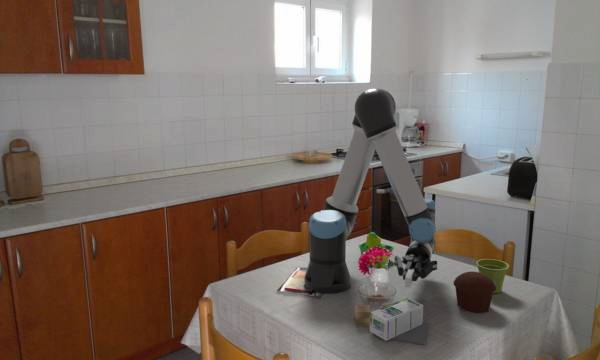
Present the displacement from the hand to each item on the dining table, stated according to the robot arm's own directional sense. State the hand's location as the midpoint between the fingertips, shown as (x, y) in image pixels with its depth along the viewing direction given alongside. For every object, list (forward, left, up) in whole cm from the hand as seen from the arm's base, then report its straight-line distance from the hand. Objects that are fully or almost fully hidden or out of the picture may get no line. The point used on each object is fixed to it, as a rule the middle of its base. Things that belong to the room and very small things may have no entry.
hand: (407, 282), depth 130 cm
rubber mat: (0, -6, -11) cm, 12 cm away
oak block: (-11, -5, -11) cm, 17 cm away
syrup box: (+2, 0, -8) cm, 8 cm away
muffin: (+17, +15, -11) cm, 26 cm away
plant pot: (+22, +29, -11) cm, 38 cm away
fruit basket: (-18, +45, -11) cm, 50 cm away
